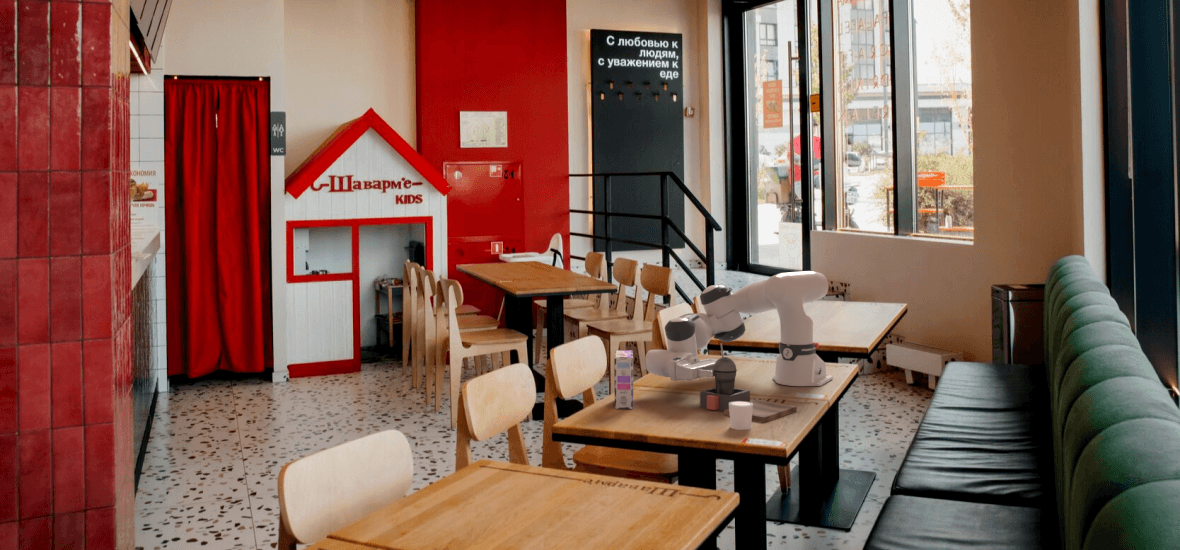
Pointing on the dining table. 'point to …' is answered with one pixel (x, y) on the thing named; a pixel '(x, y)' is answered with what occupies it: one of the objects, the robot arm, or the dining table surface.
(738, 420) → the white cup
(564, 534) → the dining table surface
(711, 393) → the dark grey open box
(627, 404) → the candy box
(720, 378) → the beverage cup
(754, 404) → the walnut mat
